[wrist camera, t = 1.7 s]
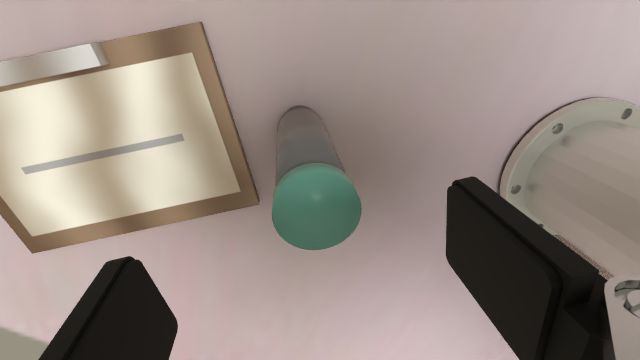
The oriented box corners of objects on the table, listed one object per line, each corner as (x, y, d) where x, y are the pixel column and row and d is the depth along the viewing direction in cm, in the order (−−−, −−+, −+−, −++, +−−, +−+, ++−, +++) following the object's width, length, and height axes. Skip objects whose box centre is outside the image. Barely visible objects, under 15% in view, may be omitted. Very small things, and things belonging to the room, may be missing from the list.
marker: (318, 95, 22) (355, 165, 11) (326, 140, 23) (366, 239, 12) (270, 105, 21) (261, 185, 11) (282, 150, 23) (284, 257, 12)
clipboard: (201, 22, 19) (195, 21, 17) (259, 200, 25) (258, 211, 23) (-94, 82, 18) (-126, 87, 17) (37, 248, 24) (22, 262, 23)
